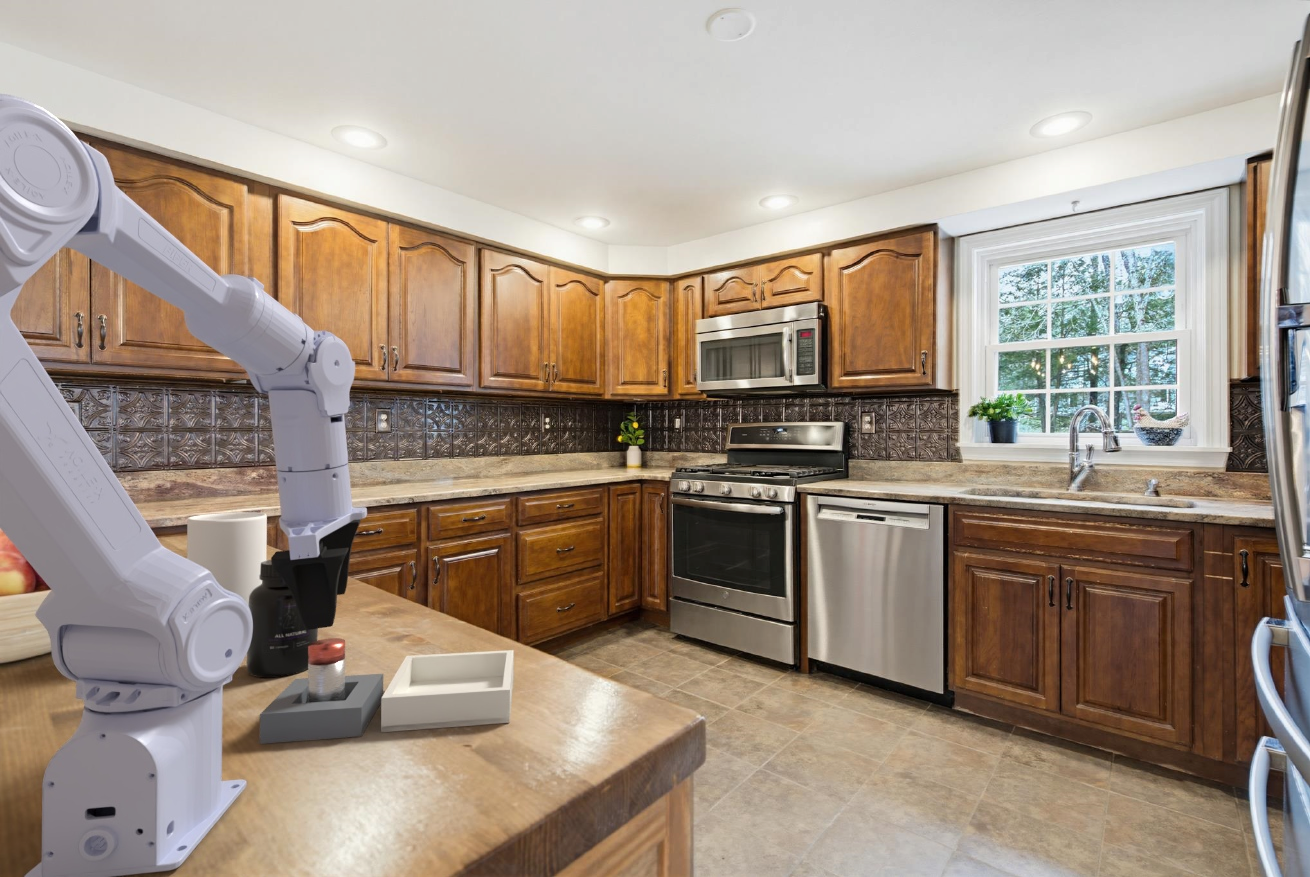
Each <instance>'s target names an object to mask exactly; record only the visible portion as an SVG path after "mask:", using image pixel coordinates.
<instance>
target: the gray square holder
mask: <svg viewBox="0 0 1310 877" xmlns="http://www.w3.org/2000/svg"><path fill="white" fill-rule="evenodd" d="M383 695H384V673H371V674H369V673H368V674H356V675H345V700H343V701H328V702H312V703H308V677H306V678H305V677H303V678H294V680H292V682H290V684H288V686H286V687H285V689H283V691H281V693H279V694H278V696H277V697H275V698H274V699H273V701H272V702H270V703H269V705H268V706H267V707H266V708H265V709H264V710H262V712H260V714H259V744H260V745H261V744H264V745H265V744H277V743H290V742H302V741H317V740H326V739H327V740H329V739H330V740H332V739H342V738H344V739H345V738H354V737H362V736H363V735H364V732H365V731H366V729H367V727H368V726H369V724H370V722H371V720H372V719H373V717H374V715H375V714H376V712H377V711H378V709H379V707H380V706H381V698H382V696H383Z"/></svg>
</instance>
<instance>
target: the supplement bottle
mask: <svg viewBox="0 0 1310 877" xmlns="http://www.w3.org/2000/svg"><path fill="white" fill-rule="evenodd" d="M259 579H260V580H262V584H261V585H259V586H258V587H256V588H255V589H254V590H253V591H252V592H251V594H250V596H249V608H250V611H251V615H252V620H253V632H252V639H251V643H250V646H249V649H248V652H247V654H246V670H247V672H248V673H249V674H250V675H252V676H254V677H260V678H277V677H284V676H290V675H294V674H295V675H296V674H298V673H302V672H304V671H307V670H308V645H309V644H310V643H312V642H315V641H318V635H319V634H318V633H319V632H318V631H319V628H318V629H311V630H307V629H306V627H305V625H304V623H303V621H302V618H301V616H300V613H299V611H298V608H297V605H296V603H295V600H294V598H293V595H292V593H291V591H290V589H289V588H288V586H287V585H286V583H285V582H284V580H283V579H282V578H281V576H280V575H279V574H278V573H277V572H276V571H275V570H274V569H273V566H272V563H271V559H267V561H264V562H261V568H260V575H259Z"/></svg>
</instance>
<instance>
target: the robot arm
mask: <svg viewBox="0 0 1310 877" xmlns="http://www.w3.org/2000/svg"><path fill="white" fill-rule="evenodd" d="M62 248H66V249H71V250H74V251H76V252H77V253H79V254H81V255H83V256H85V257H86V258H88V259H91V260H92V261H94V262H96V263H97V264H99V265H101V266H102V267H104V268H106V269H108V270H109V271H112V272H113V273H116V274H117V275H119V276H121V277H122V278H124V279H125V280H127V281H129V282H131V283H132V284H134V285H137V286H138V287H140V288H142V289H144V290H146V292H147V291H148V292H149V293H151V294H152V295H154V296H156V297H158V298H160V299H161V300H163V301H164V302H167V303H169V305H172V306H174V307H175V308H177V309H179V310H181V311H183V318H184V323H185V326H186V329H187V330H188V332H189V334H190V335H192V336H193V337H194V338H196V339H197V340H199V341H200V342H202V343H204V344H205V345H206V346H208V347H210V348H212V349H214V350H215V351H216V352H219V353H220V354H222V355H223V356H225V357H227V358H228V359H230V360H232V361H233V362H235V363H237V364H238V365H240V367H241V368H242V369H244V371H246V373H247V375H248V378H249V380H250V382H251V384H252V386H253V387H254V388H255V390H256V391H257V392H258V393H259V394H265V395H267V396H268V401H269V402H268V403H269V412H270V413H269V414H270V423H271V430H272V439H273V440H272V441H273V448H274V449H273V450H274V457H275V458H274V459H275V467H276V468H275V469H276V478H277V486H278V487H277V488H278V489H277V490H278V498H279V499H278V500H279V506H280V515H281V516H280V517H279V519H278V522H279V523H278V524H279V528H280V529H281V531H282V532H283V533H284V534H285V535H286V536H287V539H288V547H289V548H288V550H278V551H275V552H274V554H273V555H272V556H271V558H270V560H271V563H272V566H273V569H274V570H275V571H276V572H277V573H278V574H279V575H280V576H281V578H282V579H283V580H284V582H285V583H286V585H287V586H288V588H289V589H290V591H291V593H292V595H293V598H294V600H295V603H296V605H297V608H298V611H299V613H300V616H301V618H302V621H303V623H304V625H305V627H306V629H307V630H311V629H318V630H319V629H322V628H323V629H325V628H330V627H333V625H334V622H335V618H336V612H337V602H338V601H337V600H338V596H341V595H345V593H346V590H347V586H348V581H349V580H348V579H349V571H350V570H349V568H350V561H351V555H352V554H351V552H352V547H353V542H354V540H355V536H356V534H357V530H358V528H359V526H360V524H361V520H363V519H365V518H366V517H367V515H368V509H367V507H365V506H362V507H360V506H359V507H353V501H352V500H353V499H352V498H353V497H352V489H351V486H352V485H351V477H350V475H351V474H350V467H349V466H350V465H349V457H348V456H349V453H348V445H347V443H348V442H347V430H346V422H345V419H346V418H345V414H347V413H348V412H349V408H350V407H351V402H350V401H351V400H350V391H351V387H352V386H353V383H354V380H355V374H356V361H353V358H352V354H351V352H350V349H349V347H348V345H347V344H346V343H345V342H344V341H343V340H342V339H341V338H340V337H338V336H336V335H335V334H334V333H333V332H330V331H327V330H314V329H312V327H310V326H309V325H308V324H306V323H305V322H304V321H303V319H302V317H301V316H299V315H298V314H297V313H296V312H291V311H290V310H289V309H288V308H286V306H284V305H283V304H281V303H280V302H279V301H278V300H276V299H275V298H273V297H272V296H271V295H270V294H269V293H267V292H266V291H265V290H264V288H265V285H264V284H263V283H262V282H261V281H259V280H258V279H257V278H256V277H254V276H251V277H250V276H243V275H239V274H235V273H233V274H232V273H231V274H222V275H219V274H218V273H216V271H214V270H213V269H212V268H211V267H210V266H209V265H207V264H206V263H205V262H204V261H203V260H202V258H201V259H200V258H199V256H197V255H196V254H195V253H194V252H192V251H191V250H190V249H189V248H188V247H187V246H186V245H184V244H183V243H182V242H181V241H180V240H179V239H178V238H176V237H175V235H173V234H172V233H171V232H170V231H169V230H167V229H166V228H165V227H164V226H163V225H162V224H161V223H159V222H158V221H157V220H156V219H155V218H153V216H151V215H150V213H148V212H146V210H144V209H143V208H142V207H141V206H140V205H138V204H137V203H136V202H135V201H134V200H133V199H132V198H130V197H129V196H128V195H127V194H126V193H125V192H124V191H122V190H121V189H120V188H119V187H118V186H117V185H116V183H115V179H114V175H113V172H112V169H111V166H110V163H109V162H108V159H107V157H106V156H105V155H104V154H103V153H101V152H100V151H99V150H98V149H96V148H94V147H92V146H91V145H89V144H88V143H86V142H84V141H83V140H82V139H79V138H78V137H77V136H76V135H75V133H74V131H72V130H71V129H70V128H69V126H67V125H66V124H65V123H64V121H61V119H59V118H58V117H57V116H56V115H54V114H53V113H52V112H50V111H48V110H47V109H46V108H44V107H42V106H40V105H38V104H37V103H36V102H35V103H34V102H32V101H31V100H28V99H25V98H22V97H19V96H15V95H11V94H5V93H0V530H1V531H2V532H3V533H4V535H5V536H6V537H7V538H8V540H9V541H10V542H11V543H12V545H14V546H15V548H16V549H17V550H18V552H20V554H21V555H22V556H23V557H24V559H25V560H26V561H27V562H28V563H29V564H30V566H31V567H32V568H33V570H34V571H35V572H36V573H37V575H39V577H40V578H41V579H42V580H43V581H44V583H46V586H48V587H49V589H50V590H51V591H50V592H49V593H48V594H47V595H46V596H45V598H44V599H43V600H42V602H41V604H40V605H39V607H38V608H37V610H36V611H35V614H34V615H35V618H36V619H37V620H38V621H39V622H40V623H41V624H42V625H43V627H44V628H45V631H47V634H48V636H49V640H50V648H51V649H50V650H51V658H52V661H53V664H54V665H55V668H56V669H57V670H58V672H60V674H61V675H62V676H64V677H65V678H67V679H69V680H71V681H74V682H75V683H76V684H75V688H76V689H75V698H76V699H78V700H82V701H83V704H84V706H83V710H82V716H81V720H80V723H79V725H78V727H77V728H76V731H75V732H74V733H73V734H72V736H71V737H70V738H69V739H68V740H67V741H66V742H65V743H64V744H63V745H61V747H60V748H59V749H58V750H57V751H56V752H55V753H54V755H53V756H52V757H51V759H50V760H49V762H48V764H47V766H46V768H45V771H44V774H43V778H42V779H43V780H42V788H41V789H42V796H41V798H42V800H41V801H42V803H41V806H42V808H41V809H42V810H41V815H42V816H41V861H40V862H38V863H37V865H35V866H34V867H32V869H30V870H29V871H28V872H27V873H26V874H24V876H23V877H121V876H122V877H123V876H132V875H139V874H150V873H156V872H157V873H158V872H159V873H160V872H169V871H172V870H176V869H177V868H179V867H180V866H181V865H182V864H183V863H184V862H185V861H186V859H187V858H188V857H189V856H190V855H191V854H192V852H193V851H194V850H195V848H196V847H197V846H198V845H199V844H200V843H201V841H202V840H203V839H204V838H205V837H206V836H207V835H208V833H209V832H210V831H211V829H212V828H214V826H215V825H216V823H217V822H218V821H219V820H220V819H221V818H222V816H223V815H224V814H225V812H226V811H227V810H228V809H229V808H230V807H231V805H232V804H233V803H234V802H235V800H237V799H238V797H239V796H240V794H241V793H242V792H243V791H244V790H245V789H246V788H247V782H248V781H247V780H246V779H244V778H243V779H241V778H240V779H233V780H231V779H230V780H223V779H222V778H223V776H222V774H223V769H222V768H223V701H224V700H223V696H224V694H223V689H224V688H223V687H224V685H226V684H229V683H231V682H232V681H233V675H234V674H235V672H236V671H237V670H238V669H239V667H240V666H241V665H242V663H243V662H244V660H245V657H247V652H248V649H249V646H250V643H251V639H252V632H253V620H252V615H251V611H250V608H249V606H248V604H247V603H246V601H245V600H244V599H243V598H242V597H241V596H239V595H238V594H236V593H233V592H231V591H228V590H226V589H224V588H223V587H222V586H221V585H220V584H219V583H218V582H217V581H216V579H215V578H214V576H213V575H212V573H211V572H210V571H209V570H207V569H206V568H204V567H202V566H200V565H198V564H196V563H194V562H192V561H190V560H188V559H187V557H184V556H183V555H179V554H178V553H176V552H174V551H172V550H170V549H168V548H167V547H165V546H164V545H163V544H162V543H161V542H160V540H159V539H158V537H157V536H156V534H155V533H154V531H153V530H152V528H151V527H150V525H149V524H148V522H147V521H146V519H145V518H144V516H143V515H142V513H141V512H140V510H139V509H138V508H137V505H136V504H135V503H134V502H133V499H132V498H131V497H130V495H129V493H128V492H127V490H126V489H125V488H124V487H123V485H122V483H121V482H120V481H119V478H117V476H116V474H115V473H114V471H113V470H112V468H111V467H110V465H109V464H108V462H107V460H106V459H105V458H104V456H103V455H102V453H101V451H100V450H99V449H98V448H97V446H96V445H95V442H94V441H93V440H92V438H91V437H90V436H89V434H88V432H87V431H86V429H85V427H83V425H82V423H81V422H80V420H79V419H78V417H77V416H76V414H75V413H74V411H73V410H72V409H71V407H70V405H69V404H68V402H67V401H66V399H65V398H64V396H63V395H62V394H61V392H60V390H59V389H58V387H57V386H56V384H55V382H54V381H53V379H52V378H51V377H50V374H48V372H47V370H46V369H45V368H44V366H43V365H42V363H41V362H40V360H39V358H38V357H37V355H36V354H35V353H34V351H33V350H32V348H31V347H30V346H29V343H28V342H27V340H26V339H25V338H24V336H23V335H22V333H21V332H20V330H19V329H18V327H17V326H16V324H15V322H14V320H12V316H11V312H12V309H13V307H14V305H15V303H16V302H17V299H18V297H19V295H20V293H21V291H22V289H23V287H24V285H25V283H26V282H27V281H28V280H29V279H30V278H31V277H32V276H33V275H34V274H36V272H38V270H40V268H42V267H43V266H44V265H45V264H46V263H47V262H48V261H49V260H50V259H51V258H52V257H53V256H54V255H56V254H57V252H59V251H60V250H61V249H62Z"/></svg>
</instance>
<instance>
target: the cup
mask: <svg viewBox="0 0 1310 877" xmlns="http://www.w3.org/2000/svg"><path fill="white" fill-rule="evenodd" d="M267 518H268V516H267V513H265V512H254V511H253V512H251V511H249V512H247V511H245V512H243V511H242V512H241V511H240V512H220V513H207V514H201V515H200V514H199V515H195V516H193V515H192V516H190V517H187V522H186V523H187V526H186V527H187V529H186V530H187V531H186V532H187V534H186V535H187V536H186V537H187V538H186V540H187V541H186V559H188V560H190V561H192V562H194V563H196V564H198V565H200V566H202V567H204V568H206V569H207V570H209V571H210V572H211V573H212V575H213V576H214V578H215V579H216V581H217V582H218V583H219V584H220V585H221V586H222V587H223V588H224V589H226V590H228V591H231V592H233V593H236V594H238V595H239V596H241V597H242V598H243V599H244V600H245V601H246V603H247V604H248V606H249V596H250V594H251V592H252V591H253V590H254V589H255V588H256V587H258V586H259V585H261V584H262V580H260V579H259V575H260V568H261V562H264V561H267V560H268V559H267V549H268V548H267V546H268V545H267V544H268V543H267V542H268V540H267V539H268V538H267V536H268V534H267V533H268V532H267V531H268V530H267V529H268V527H267V526H268V523H267V522H268V519H267Z"/></svg>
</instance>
